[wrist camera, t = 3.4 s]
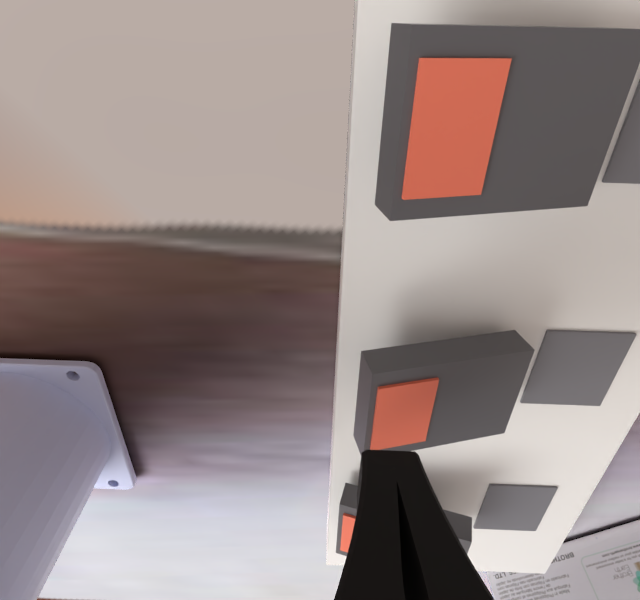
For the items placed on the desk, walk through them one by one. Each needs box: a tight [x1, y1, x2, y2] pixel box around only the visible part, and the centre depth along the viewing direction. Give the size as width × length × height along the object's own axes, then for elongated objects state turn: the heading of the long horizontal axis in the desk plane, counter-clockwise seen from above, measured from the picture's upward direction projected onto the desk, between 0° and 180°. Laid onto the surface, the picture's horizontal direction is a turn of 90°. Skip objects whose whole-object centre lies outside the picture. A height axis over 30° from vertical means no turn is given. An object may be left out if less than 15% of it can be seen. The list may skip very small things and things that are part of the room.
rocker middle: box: [353, 330, 535, 455], centre depth 14 cm, size 5×4×1 cm
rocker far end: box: [336, 483, 472, 556], centre depth 18 cm, size 5×4×1 cm
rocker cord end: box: [375, 23, 640, 221], centre depth 9 cm, size 5×4×1 cm
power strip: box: [326, 0, 640, 574], centre depth 14 cm, size 11×32×2 cm, turn 179°
